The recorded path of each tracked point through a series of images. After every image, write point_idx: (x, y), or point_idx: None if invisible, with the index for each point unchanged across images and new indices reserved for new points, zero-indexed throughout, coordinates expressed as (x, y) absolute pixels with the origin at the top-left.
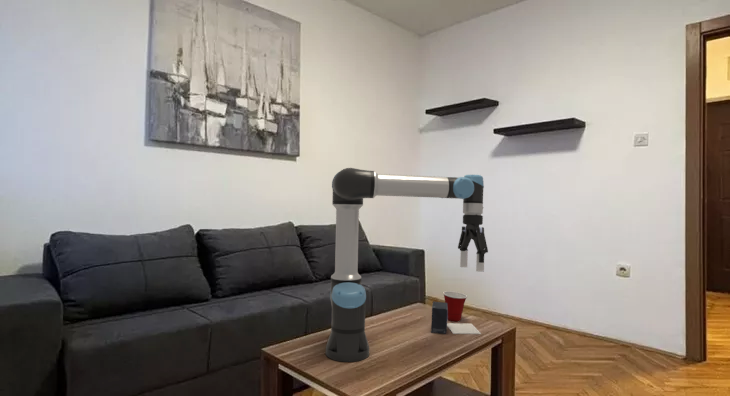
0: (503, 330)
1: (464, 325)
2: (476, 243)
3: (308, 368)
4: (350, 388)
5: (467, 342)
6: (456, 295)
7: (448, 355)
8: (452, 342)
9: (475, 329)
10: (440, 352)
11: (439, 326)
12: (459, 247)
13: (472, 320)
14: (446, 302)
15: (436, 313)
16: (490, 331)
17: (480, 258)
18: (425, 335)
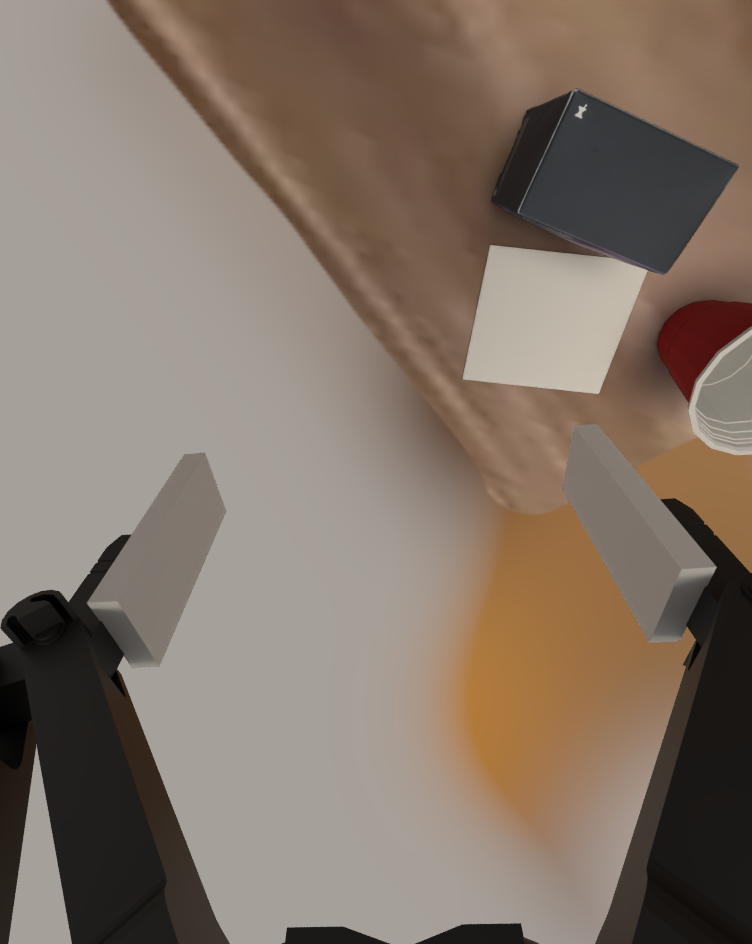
0: (489, 478)
1: (583, 350)
2: (45, 787)
3: None
4: None
5: (369, 273)
6: None
7: (200, 98)
8: (373, 193)
9: (516, 377)
10: (235, 62)
11: (514, 160)
12: None
13: (647, 418)
14: None
15: (543, 132)
16: (488, 429)
17: (95, 574)
18: (497, 49)
